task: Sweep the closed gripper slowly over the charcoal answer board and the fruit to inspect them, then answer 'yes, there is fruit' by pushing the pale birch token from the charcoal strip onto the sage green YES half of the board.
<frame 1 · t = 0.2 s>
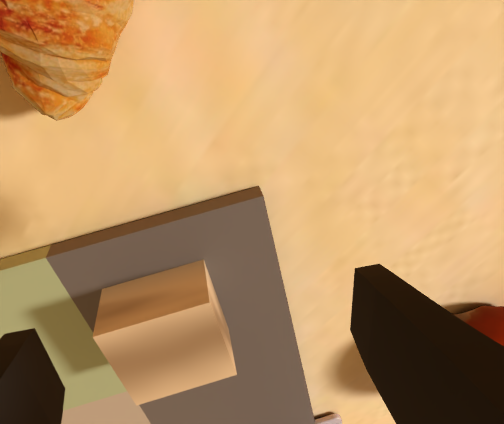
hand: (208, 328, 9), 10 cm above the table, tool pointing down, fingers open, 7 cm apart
fruit: (465, 331, 28), on the table
answer board: (114, 380, 24), on the table
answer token: (169, 310, 20), point 1 cm above the table, touching answer board
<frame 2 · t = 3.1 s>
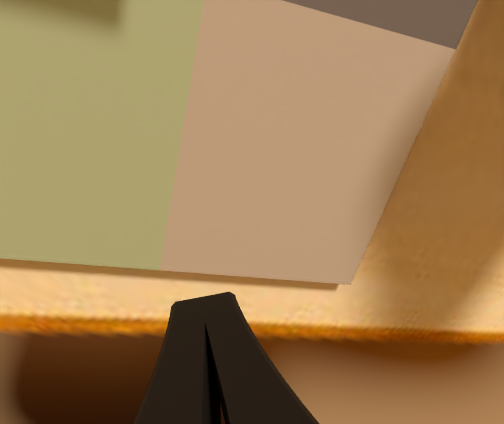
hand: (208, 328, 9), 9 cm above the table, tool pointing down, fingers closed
answer board: (199, 10, 14), on the table
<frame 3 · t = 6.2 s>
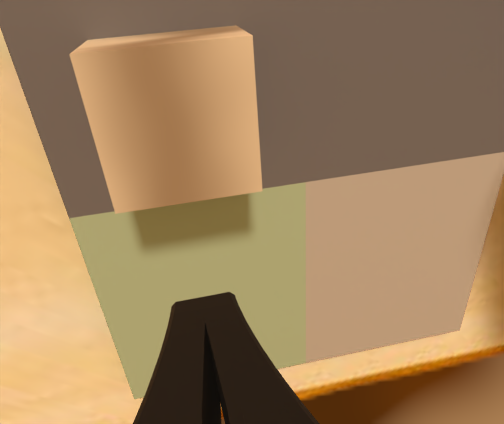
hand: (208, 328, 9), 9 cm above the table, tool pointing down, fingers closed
answer board: (299, 192, 19), on the table
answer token: (175, 105, 15), point 1 cm above the table, touching answer board
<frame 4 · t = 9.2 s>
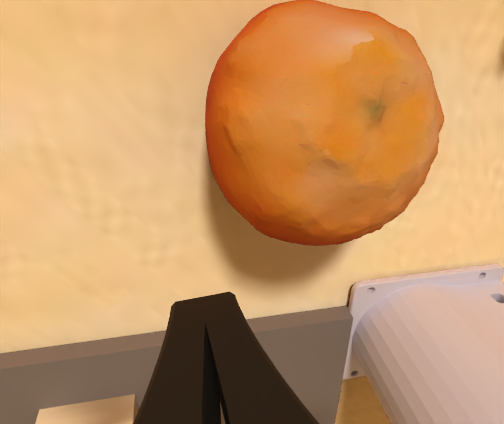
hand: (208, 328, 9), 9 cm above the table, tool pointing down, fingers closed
fruit: (289, 103, 17), on the table
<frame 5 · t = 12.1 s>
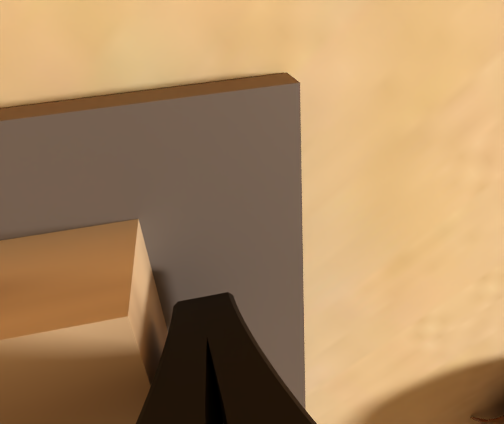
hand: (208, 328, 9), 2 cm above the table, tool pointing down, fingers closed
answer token: (57, 320, 10), point 1 cm above the table, touching answer board, gripper
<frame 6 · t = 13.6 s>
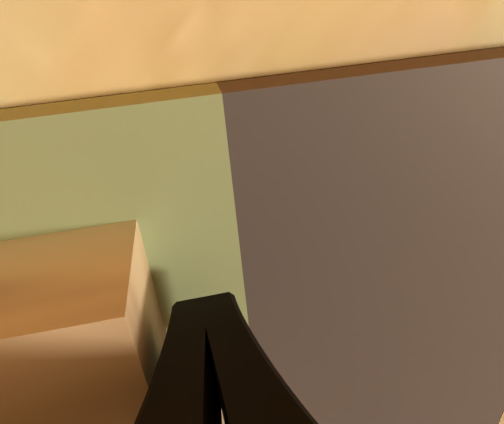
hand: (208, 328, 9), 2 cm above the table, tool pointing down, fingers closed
answer board: (223, 383, 14), on the table
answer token: (56, 321, 10), point 1 cm above the table, touching answer board, gripper
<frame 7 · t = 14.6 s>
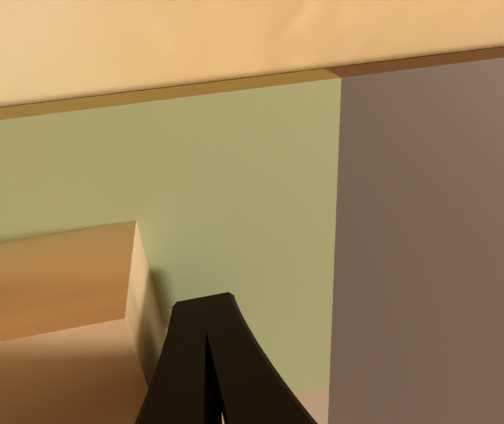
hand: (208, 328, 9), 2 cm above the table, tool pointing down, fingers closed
answer board: (291, 368, 14), on the table
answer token: (56, 322, 10), point 1 cm above the table, touching answer board, gripper
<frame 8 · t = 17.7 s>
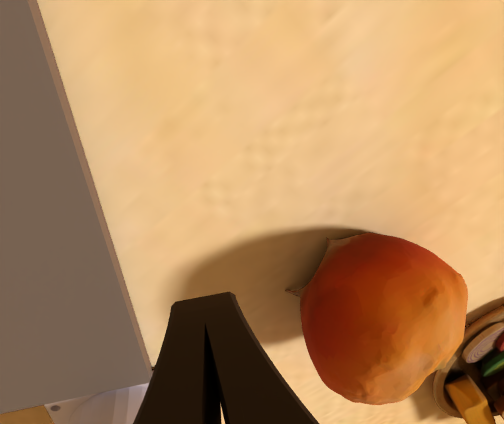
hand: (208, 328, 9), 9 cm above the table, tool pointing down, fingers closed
fruit: (351, 273, 23), on the table
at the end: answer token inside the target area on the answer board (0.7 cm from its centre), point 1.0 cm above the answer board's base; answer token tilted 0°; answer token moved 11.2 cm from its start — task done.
